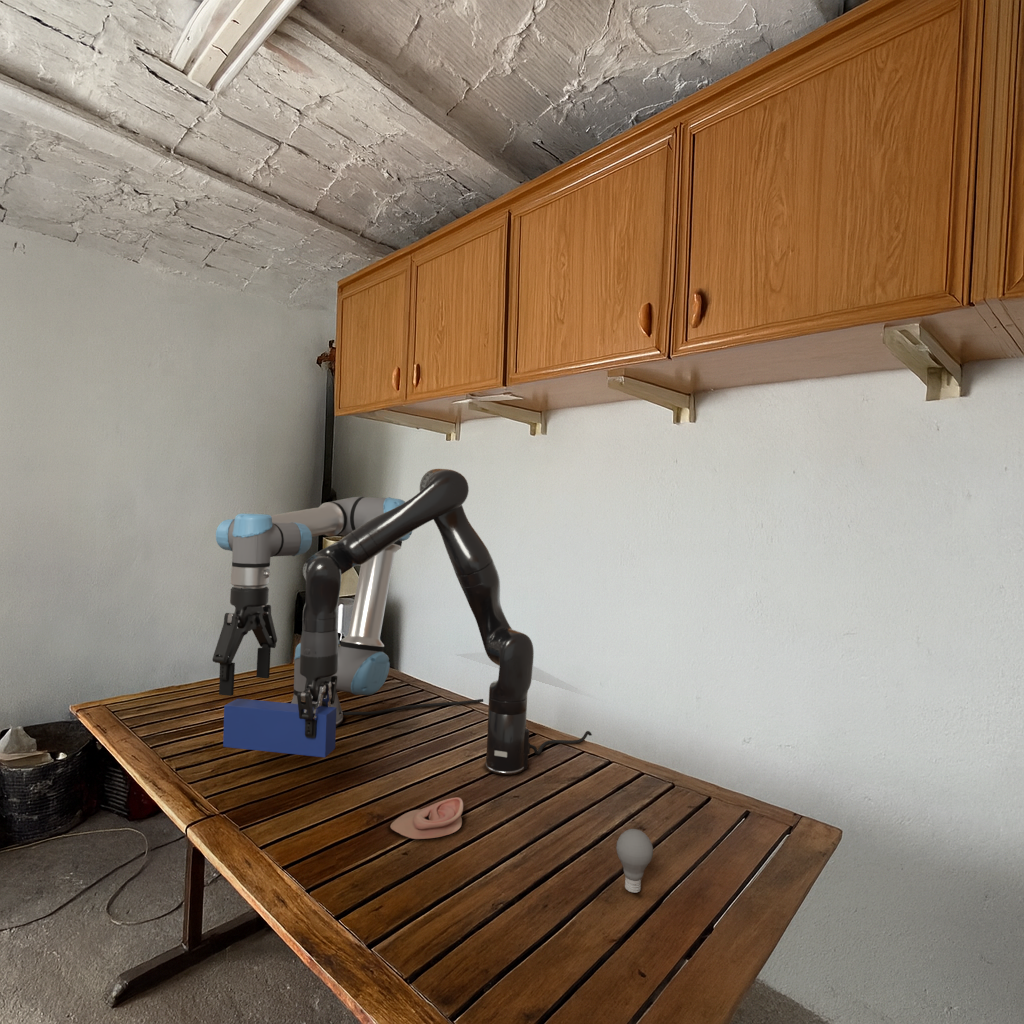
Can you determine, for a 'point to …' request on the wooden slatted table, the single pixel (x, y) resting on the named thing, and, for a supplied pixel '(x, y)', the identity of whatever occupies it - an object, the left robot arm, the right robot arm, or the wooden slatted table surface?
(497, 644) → the right robot arm
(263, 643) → the left robot arm
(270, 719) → the bar
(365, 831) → the wooden slatted table surface
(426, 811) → the anatomical model
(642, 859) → the light bulb
